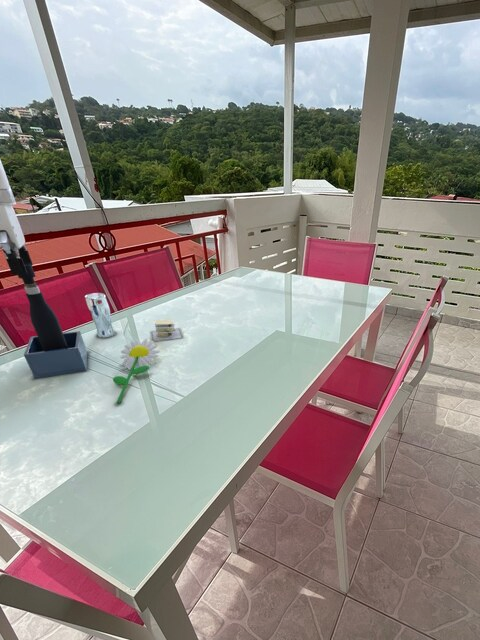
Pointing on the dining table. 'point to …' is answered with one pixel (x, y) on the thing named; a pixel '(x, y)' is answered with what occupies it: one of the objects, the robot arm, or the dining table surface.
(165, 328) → the stacked layers on plate
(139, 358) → the decorative flower
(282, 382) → the dining table surface
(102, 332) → the beer glass
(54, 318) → the wine bottle
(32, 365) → the blue grey open box
